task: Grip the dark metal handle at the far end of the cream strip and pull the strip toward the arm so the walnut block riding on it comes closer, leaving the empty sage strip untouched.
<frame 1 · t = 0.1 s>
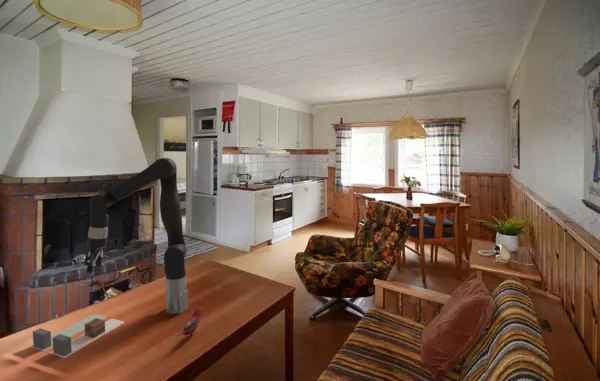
hand: (94, 269, 140), 22 cm above the table, tool pointing down, fingers open, 8 cm apart
sage strip: (71, 325, 127), point 4 cm above the table, slide at 0.0 cm
walnut block: (95, 333, 126), point 1 cm above the table, touching cream strip
cream strip: (90, 330, 124), point 4 cm above the table, slide at 0.0 cm, touching walnut block
decorative bird figurine: (189, 338, 127), on the table
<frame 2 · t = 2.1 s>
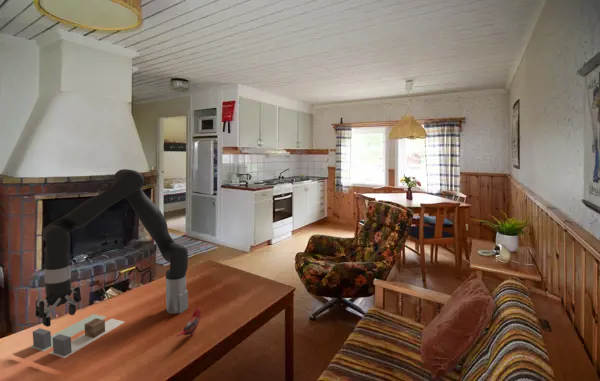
hand: (60, 320, 112), 14 cm above the table, tool pointing down, fingers open, 8 cm apart
nothing on the table moved.
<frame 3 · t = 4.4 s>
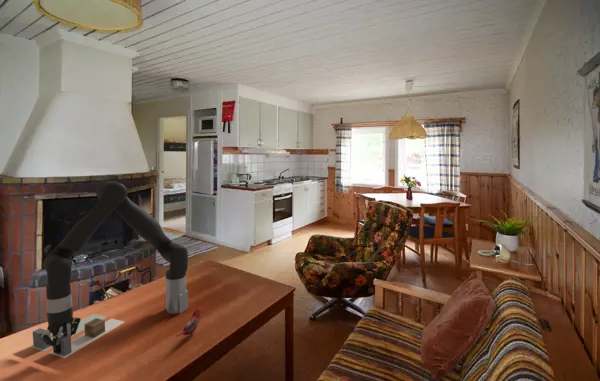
hand: (62, 350, 113), 2 cm above the table, tool pointing down, fingers closed on cream strip, 2 cm apart
cream strip: (90, 330, 124), point 4 cm above the table, slide at 0.0 cm, touching gripper, walnut block
everything else where it was.
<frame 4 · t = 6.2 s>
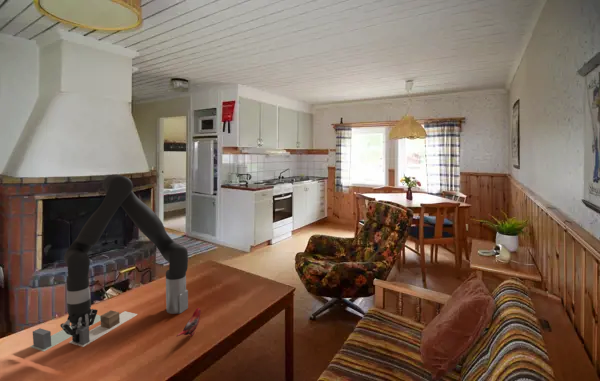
hand: (81, 339, 120), 2 cm above the table, tool pointing down, fingers closed on cream strip, 2 cm apart
walnut block: (110, 324, 132), point 1 cm above the table, touching cream strip
cream strip: (106, 321, 130), point 4 cm above the table, slide at 7.0 cm, touching gripper, walnut block
everything else where it was.
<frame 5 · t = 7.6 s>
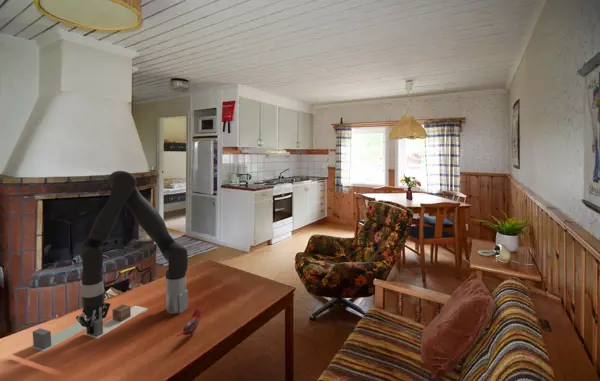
hand: (94, 331, 126), 2 cm above the table, tool pointing down, fingers closed on cream strip, 2 cm apart
walnut block: (121, 318, 138), point 1 cm above the table, touching cream strip
cream strip: (117, 315, 136), point 4 cm above the table, slide at 12.9 cm, touching gripper, walnut block
everything else where it was.
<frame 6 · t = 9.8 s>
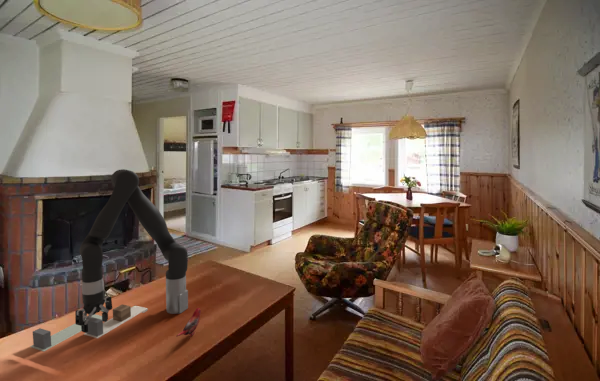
hand: (95, 326, 126), 4 cm above the table, tool pointing down, fingers open, 8 cm apart
cream strip: (118, 315, 136), point 4 cm above the table, slide at 13.0 cm, touching walnut block
everything else where it was.
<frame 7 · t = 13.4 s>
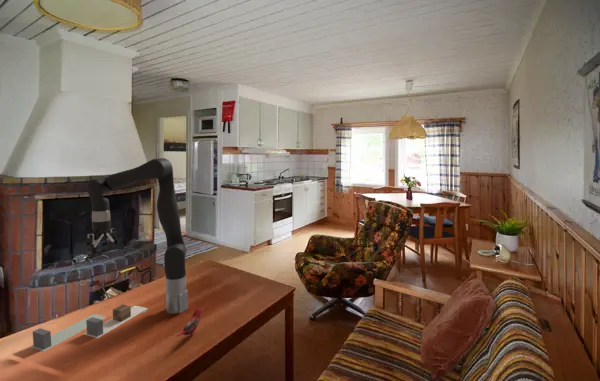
hand: (102, 251, 147), 28 cm above the table, tool pointing down, fingers open, 8 cm apart
nothing on the table moved.
at the end: cream strip slide at 13.0 cm; walnut block inside the target area (0.0 cm from its centre), point 1.2 cm above the table; sage strip slide at 0.0 cm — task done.
